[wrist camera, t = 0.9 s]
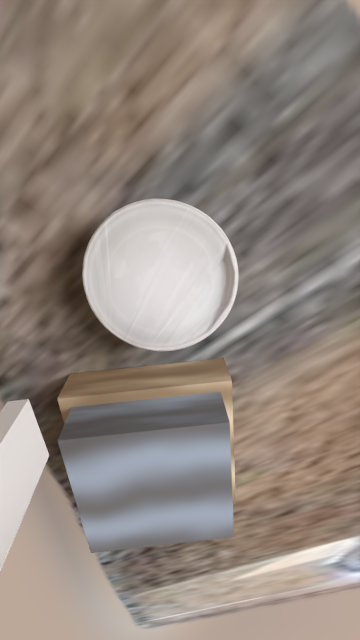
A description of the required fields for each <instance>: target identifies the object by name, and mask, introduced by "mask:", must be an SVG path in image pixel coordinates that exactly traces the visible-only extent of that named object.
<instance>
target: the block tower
mask: <svg viewBox="0 0 360 640" xmlns="http://www.w3.org/2000/svg"><path fill="white" fill-rule="evenodd" d="M57 400H58V403H59V407H60V410H61V414H62V417H63V421H64V426H63V429H62V431H61V434H60V436H59V438H58V444H59V448H60V451H61V454H62V458H63V461H64V464H65V468H66V471H67V474H68V478H69V481H70V484H71V488H72V491H73V494H74V498H75V501H76V504H77V508H78V511H79V514H80V518H81V521H82V524H83V528H84V531H85V534H86V538H87V541H88V544H89V548H90V551H91V553H95V552H103V551H112V550H121V549H130V548H139V547H148V546H157V545H166V544H175V543H183V542H192V541H201V540H210V539H219V538H228V537H234V526H233V504H235V503H236V499H235V467H234V436H233V404H232V380H231V377H230V374H229V372H228V369H227V366H226V364H225V361H224V358H219V359H209V360H200V361H190V362H180V363H171V364H161V365H151V366H142V367H132V368H123V369H113V370H103V371H94V372H84V373H75V374H70V375H69V377H68V379H67V381H66V383H65V385H64V387H63V389H62V390H61V392H60V394H59V396H58V398H57Z"/></svg>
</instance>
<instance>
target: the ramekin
mask: <svg viewBox="0 0 360 640" xmlns="http://www.w3.org/2000/svg"><path fill="white" fill-rule="evenodd" d="M82 277H83V285H84V290H85V294H86V297H87V300H88V303H89V305H90V307H91V309H92V311H93V312H94V314H95V315H96V317H97V318H98V320H99V321H100V322H101V323H102V324H103V326H104V327H105V328H106V329H107V330H109V331H110V332H111V333H112V334H113V335H115V336H116V337H118V338H119V339H121V340H122V341H124V342H126V343H128V344H130V345H132V346H135V347H137V348H141V349H145V350H151V351H173V350H179V349H183V348H186V347H189V346H191V345H194V344H196V343H198V342H200V341H201V340H203V339H205V338H206V337H208V336H209V335H210V334H211V333H213V332H214V331H215V330H216V329H217V328H218V327H219V326H220V325H221V324H222V322H223V321H224V320H225V318H226V317H227V315H228V313H229V312H230V310H231V308H232V306H233V303H234V300H235V297H236V293H237V287H238V265H237V260H236V256H235V253H234V250H233V248H232V246H231V243H230V242H229V240H228V238H227V236H226V235H225V233H224V232H223V230H222V229H221V228H220V227H219V226H218V225H217V224H216V223H215V222H214V221H213V220H212V219H211V218H210V217H209V216H207V215H206V214H205V213H203V212H202V211H200V210H198V209H197V208H195V207H193V206H190V205H188V204H186V203H182V202H179V201H175V200H169V199H146V200H141V201H137V202H134V203H131V204H129V205H126V206H124V207H122V208H120V209H118V210H116V211H115V212H113V213H112V214H111V215H110V216H109V217H107V218H106V219H105V220H104V221H103V222H102V223H101V224H100V226H99V227H98V228H97V230H96V231H95V232H94V234H93V235H92V237H91V239H90V241H89V243H88V246H87V249H86V252H85V255H84V260H83V272H82Z"/></svg>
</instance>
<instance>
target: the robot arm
mask: <svg viewBox="0 0 360 640" xmlns="http://www.w3.org/2000/svg"><path fill="white" fill-rule="evenodd" d="M48 457H49V453H48V451H47V448H46V445H45V442H44V440H43V437H42V434H41V431H40V429H39V426H38V423H37V421H36V418H35V415H34V412H33V410H32V407H31V404H30V401H29V399H24V400H16V401H8V402H7V403H6V405H5V406H4V407H3V409H2V410H1V412H0V571H1V569H2V567H3V564H4V562H5V559H6V557H7V555H8V552H9V549H10V548H11V545H12V543H13V540H14V538H15V536H16V533H17V531H18V528H19V526H20V524H21V521H22V519H23V517H24V514H25V512H26V510H27V507H28V505H29V502H30V500H31V497H32V495H33V493H34V491H35V488H36V486H37V484H38V481H39V479H40V476H41V474H42V472H43V469H44V467H45V465H46V462H47V460H48Z"/></svg>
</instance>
